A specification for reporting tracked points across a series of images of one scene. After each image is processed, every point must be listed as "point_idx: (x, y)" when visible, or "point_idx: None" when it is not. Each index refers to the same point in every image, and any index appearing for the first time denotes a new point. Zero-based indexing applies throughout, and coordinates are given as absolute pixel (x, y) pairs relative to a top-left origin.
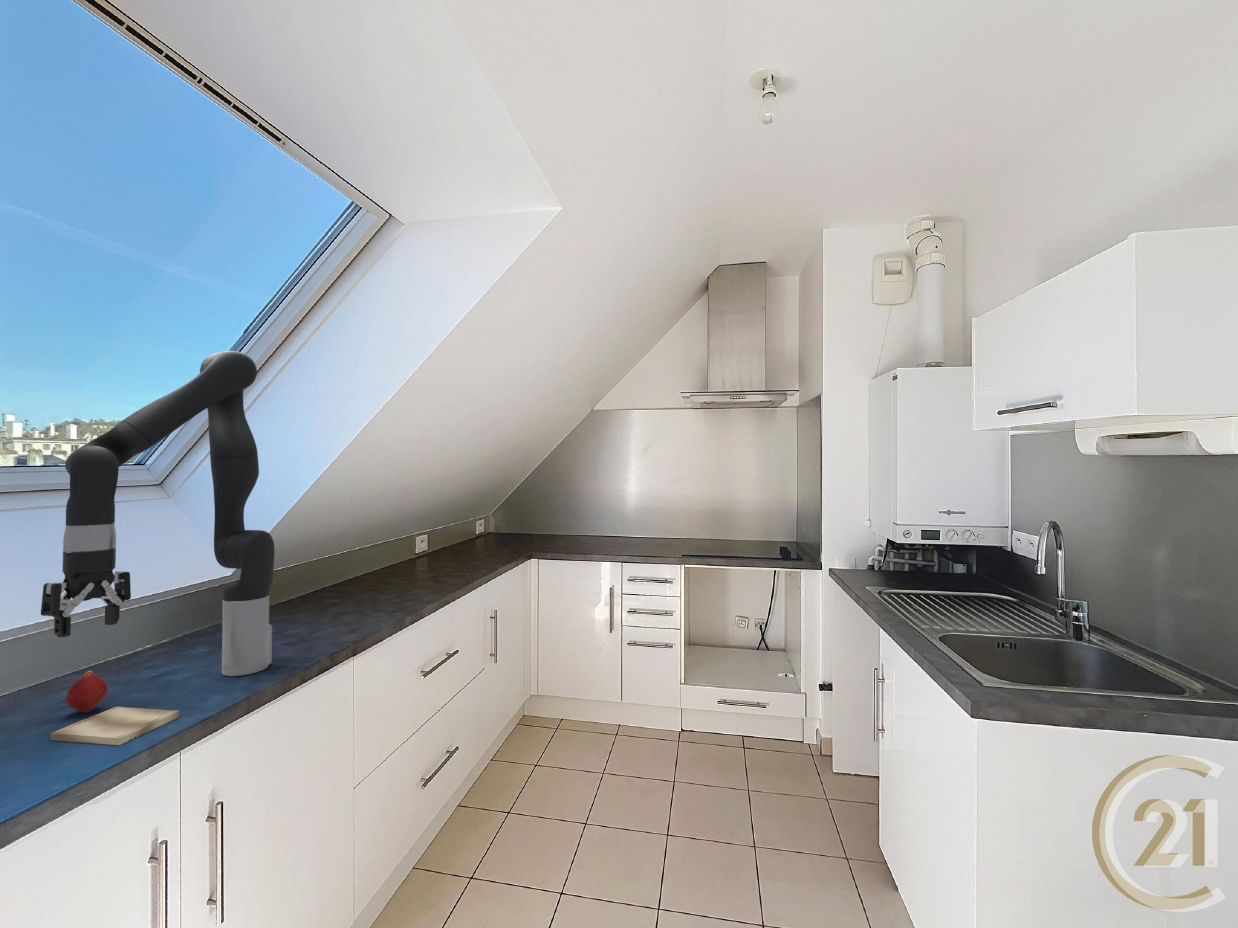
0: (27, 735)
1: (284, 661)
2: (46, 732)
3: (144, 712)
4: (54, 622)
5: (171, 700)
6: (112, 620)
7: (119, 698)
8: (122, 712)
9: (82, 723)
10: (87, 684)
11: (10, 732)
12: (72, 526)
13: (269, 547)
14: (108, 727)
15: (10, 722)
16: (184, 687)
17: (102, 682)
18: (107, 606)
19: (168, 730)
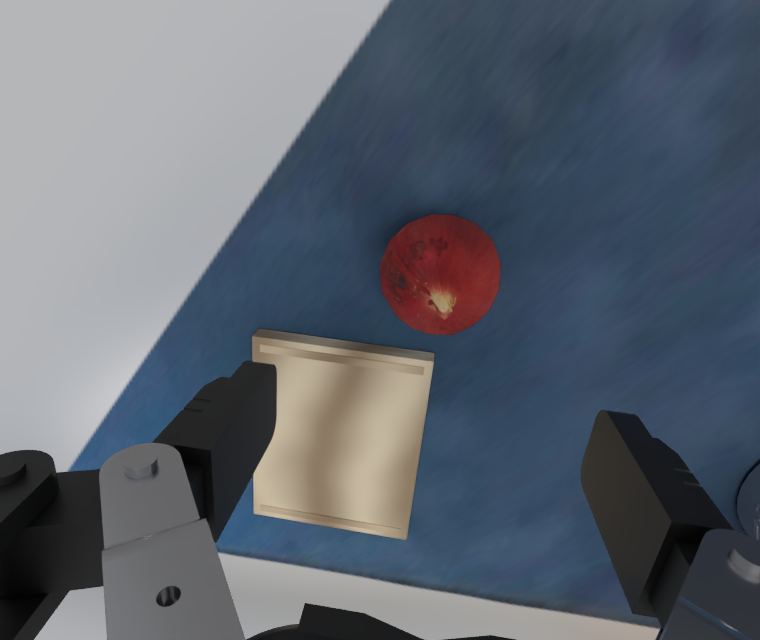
0: (274, 233)
1: None
2: (297, 270)
3: (393, 468)
4: (163, 432)
5: (526, 439)
6: (591, 489)
7: (561, 260)
8: (392, 412)
9: (315, 365)
10: (406, 318)
11: (285, 153)
12: None
13: None
14: (300, 449)
15: (352, 55)
16: (648, 404)
17: (452, 333)
18: (663, 544)
19: (336, 546)
